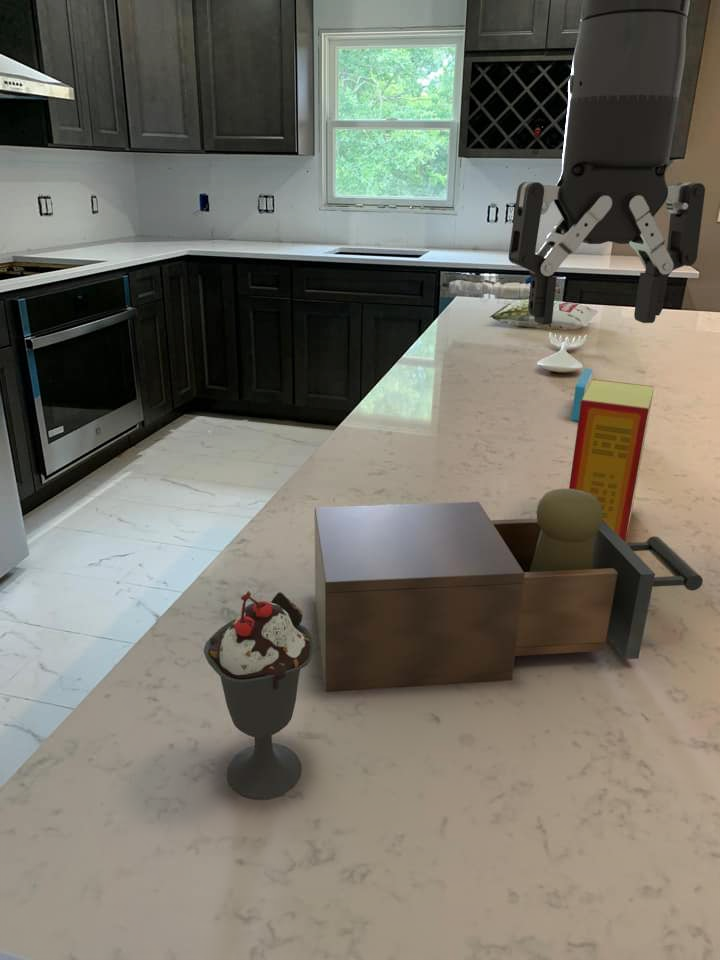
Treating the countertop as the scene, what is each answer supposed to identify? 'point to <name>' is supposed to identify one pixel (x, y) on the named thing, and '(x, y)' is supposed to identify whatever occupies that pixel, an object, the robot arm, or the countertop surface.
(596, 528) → the cork
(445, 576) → the cabinet
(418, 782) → the countertop surface
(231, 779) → the sundae
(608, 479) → the baking soda box
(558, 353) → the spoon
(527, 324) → the frozen beans
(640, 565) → the drawer
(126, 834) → the countertop surface
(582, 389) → the blue flat box
